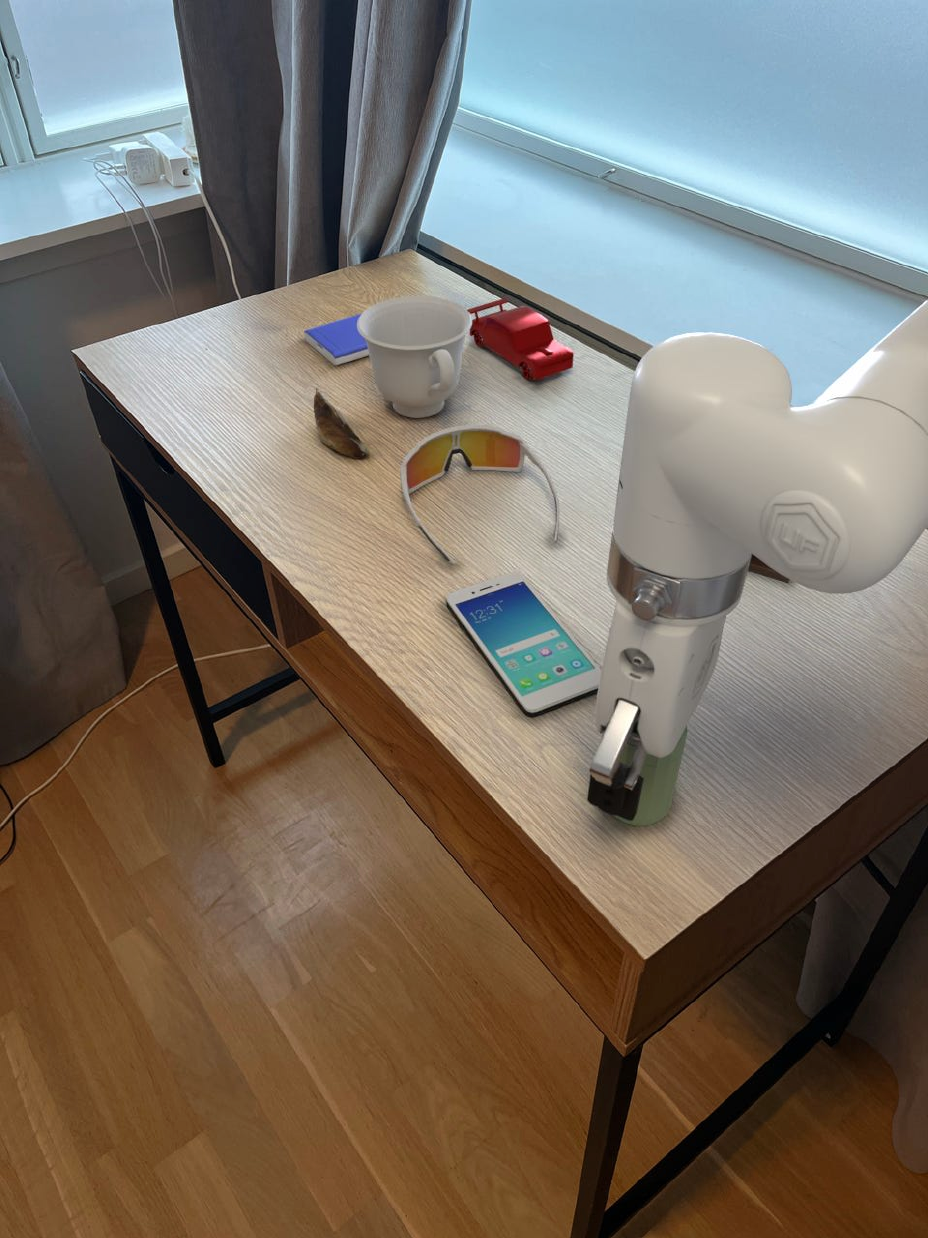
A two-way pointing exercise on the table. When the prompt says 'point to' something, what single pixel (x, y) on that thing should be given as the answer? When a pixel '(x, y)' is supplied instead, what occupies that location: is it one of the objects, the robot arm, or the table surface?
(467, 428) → the sunglasses
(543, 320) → the toy car
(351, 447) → the oyster shell
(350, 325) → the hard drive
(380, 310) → the teacup
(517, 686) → the smartphone
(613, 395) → the table surface
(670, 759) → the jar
